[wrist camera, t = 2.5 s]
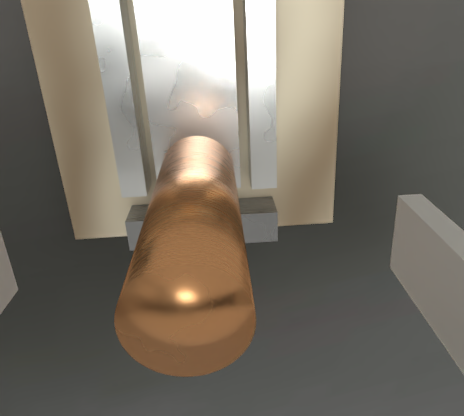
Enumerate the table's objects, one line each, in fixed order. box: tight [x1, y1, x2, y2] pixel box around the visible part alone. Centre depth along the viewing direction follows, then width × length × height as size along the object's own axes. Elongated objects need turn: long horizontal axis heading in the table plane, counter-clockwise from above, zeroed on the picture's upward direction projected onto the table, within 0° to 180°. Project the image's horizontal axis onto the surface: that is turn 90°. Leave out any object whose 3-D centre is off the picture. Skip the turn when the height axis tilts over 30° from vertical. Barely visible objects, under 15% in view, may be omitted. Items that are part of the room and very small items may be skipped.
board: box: [21, 0, 344, 239], centre depth 21 cm, size 14×15×1 cm
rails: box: [88, 0, 278, 251], centre depth 20 cm, size 7×12×2 cm, turn 3°
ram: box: [114, 0, 256, 377], centre depth 14 cm, size 8×12×12 cm, turn 3°
